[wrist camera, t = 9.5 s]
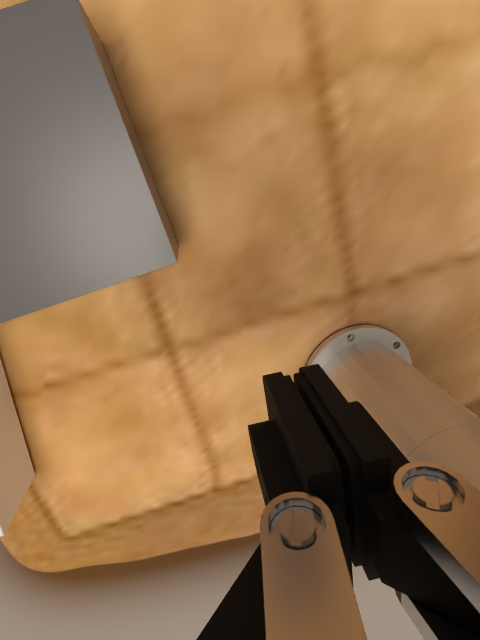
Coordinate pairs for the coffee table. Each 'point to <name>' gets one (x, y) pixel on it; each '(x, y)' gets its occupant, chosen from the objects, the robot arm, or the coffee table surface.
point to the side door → (11, 458)
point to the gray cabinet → (69, 166)
